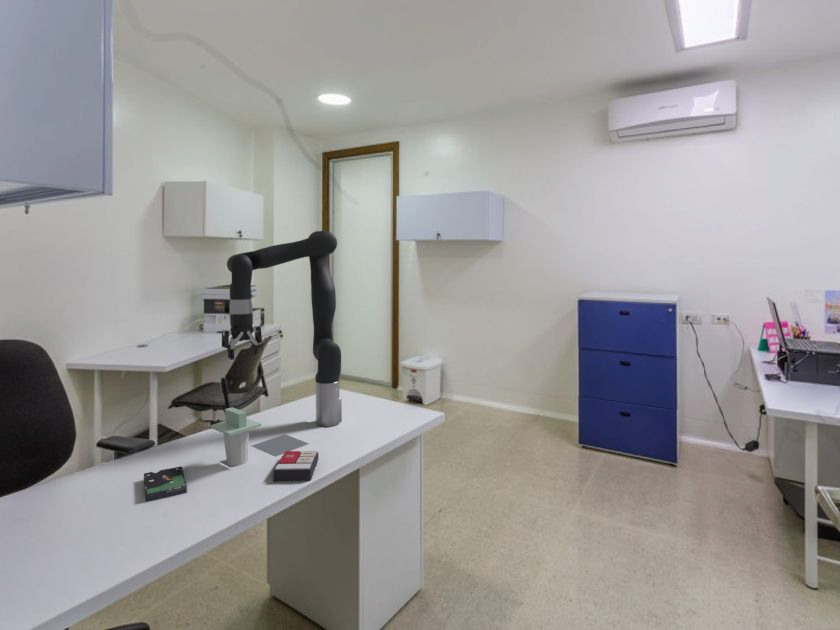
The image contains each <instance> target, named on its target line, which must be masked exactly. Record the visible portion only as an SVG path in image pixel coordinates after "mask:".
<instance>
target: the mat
mask: <svg viewBox="0 0 840 630" xmlns="http://www.w3.org/2000/svg"><path fill="white" fill-rule="evenodd" d="M307 445H310V443H309V442H306V441H303V440H301V439H299V438H295V437H293V436H291V435H288V434H282V435H278V436H275V437H273V438H269V439H267V440H264V441H261V442H258V443H254V444H253V445H251V447H253V448H255V449H257V450H259V451H262V452H264V453H266V454H269V455H270V456H273V457H278V456H280V455H281V456H282V455H283V454H284V453H285V452H286V451H295V450H297V449H300V448H302V447H305V446H307Z"/></svg>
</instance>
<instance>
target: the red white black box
mask: <svg viewBox="0 0 840 630" xmlns="http://www.w3.org/2000/svg"><path fill="white" fill-rule="evenodd" d="M317 462H318V463H319V452H318V451H317V450H302V451H300V450H292V451H286V452H285V453H284V454H282V455H281V457H280V459H279V461H278V462H277V464H276V465H275V467H274V469H273V474H272V476H273V482H311V480H312V479H313V476H314V472H315V471H316V468H317V465H318V463H317ZM315 467H316V468H315Z"/></svg>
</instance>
